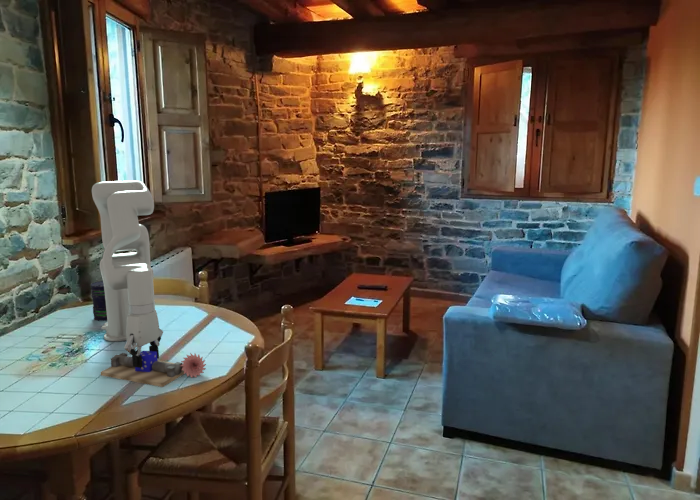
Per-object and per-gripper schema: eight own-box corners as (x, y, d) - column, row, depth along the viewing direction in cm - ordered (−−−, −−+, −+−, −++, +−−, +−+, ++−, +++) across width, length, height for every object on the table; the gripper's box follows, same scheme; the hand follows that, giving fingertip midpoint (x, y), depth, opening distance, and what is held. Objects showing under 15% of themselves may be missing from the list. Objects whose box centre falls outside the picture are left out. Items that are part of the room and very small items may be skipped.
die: (143, 365, 173) (142, 350, 172) (158, 366, 172) (157, 351, 171) (135, 371, 168) (133, 356, 167) (149, 372, 167) (148, 357, 166)
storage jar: (102, 313, 232) (99, 280, 230) (123, 314, 231) (120, 280, 228) (88, 320, 223) (85, 285, 220) (110, 321, 221) (107, 286, 219)
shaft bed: (99, 375, 168) (98, 362, 167) (132, 359, 181) (131, 347, 180) (163, 387, 159) (162, 374, 158) (193, 369, 172) (192, 357, 171)
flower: (182, 352, 171) (186, 347, 166) (206, 359, 173) (210, 355, 169) (174, 376, 167) (178, 372, 162) (199, 383, 169) (204, 379, 165)
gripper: (151, 299, 175) (155, 351, 179) (111, 314, 160) (116, 371, 163) (170, 302, 173) (174, 354, 176) (131, 317, 157) (135, 374, 160)
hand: (146, 362), depth 169 cm, fingers open, 6 cm apart
